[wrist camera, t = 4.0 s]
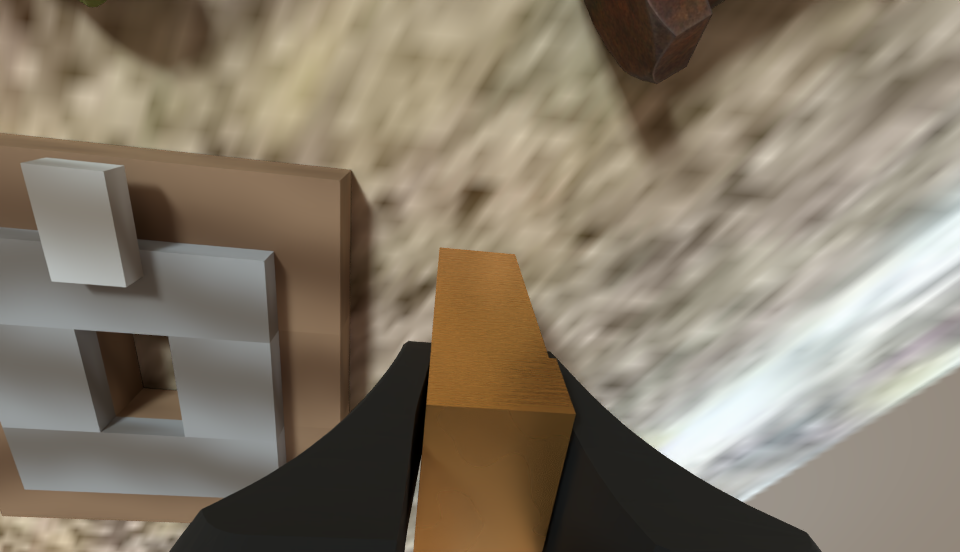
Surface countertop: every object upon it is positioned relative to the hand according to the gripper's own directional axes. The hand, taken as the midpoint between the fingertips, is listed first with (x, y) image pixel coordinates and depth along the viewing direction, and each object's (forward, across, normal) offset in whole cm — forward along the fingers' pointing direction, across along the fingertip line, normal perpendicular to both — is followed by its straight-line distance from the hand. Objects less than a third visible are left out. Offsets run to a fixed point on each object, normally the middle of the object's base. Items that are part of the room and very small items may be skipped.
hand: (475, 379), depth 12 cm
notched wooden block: (+4, 0, 0) cm, 4 cm away
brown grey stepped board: (+9, +13, +6) cm, 17 cm away
